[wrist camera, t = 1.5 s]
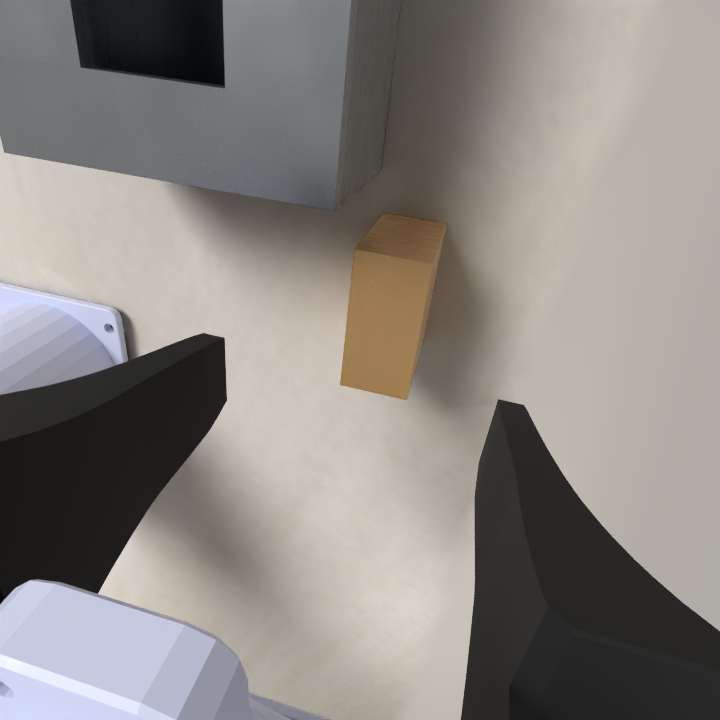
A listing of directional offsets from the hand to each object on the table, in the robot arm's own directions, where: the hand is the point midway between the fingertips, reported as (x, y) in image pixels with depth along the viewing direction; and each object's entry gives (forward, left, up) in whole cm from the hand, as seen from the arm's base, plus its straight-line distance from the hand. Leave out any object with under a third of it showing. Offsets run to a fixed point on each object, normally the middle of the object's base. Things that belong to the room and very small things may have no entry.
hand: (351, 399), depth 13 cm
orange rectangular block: (0, 0, -9) cm, 9 cm away
